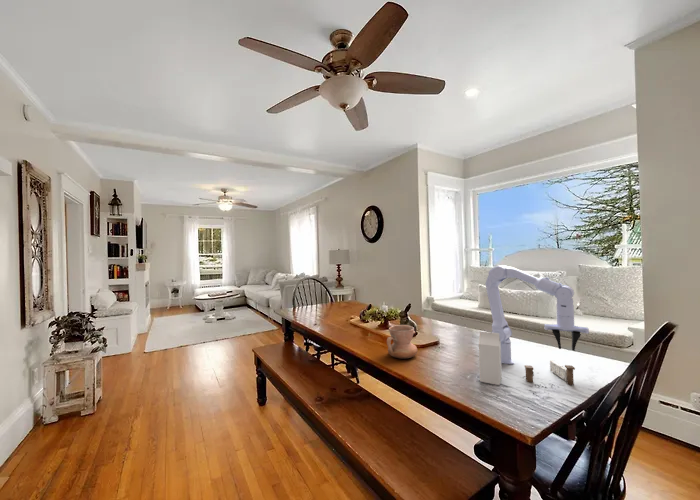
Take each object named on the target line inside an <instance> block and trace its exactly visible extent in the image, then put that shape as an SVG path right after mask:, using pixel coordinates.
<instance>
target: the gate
mask: <svg viewBox="0 0 700 500" xmlns="http://www.w3.org/2000/svg"><path fill="white" fill-rule="evenodd" d="M549 365H550V366H549V367H550V368H549V369H550V372H552V373H553V374H555V375H556V376H558V377H560V378H561V379H562V380H563V381H565V382H567V368H566V367H565V366H564V365H561V364H560V363H558V362H556V361H555V360H549Z"/></svg>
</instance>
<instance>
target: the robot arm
mask: <svg viewBox="0 0 700 500" xmlns="http://www.w3.org/2000/svg"><path fill="white" fill-rule="evenodd" d="M511 278H512V279H513V278H514V279H515V278H516V279H518V280H521V281H523V282H526V283H528V284H531V285H534V286H535V289H536V290H538V291H541V292H543V293H545V294H548V295H550V296H552V297H553V296H554V298H555V299H556V324H548V323H547V324H546V323H544V330H545V331H549V330H550V331H552V333H553V336H554V338H555V340H556V342H557V346H558V349H559V350H562V344H561V331H562V332H569V333H570V332H571V333H570V334H571V350H572V351H575V350H576V346H577V343H578V341H579V339H580V337H581V333H583V334H588V335H589V333H590V330H589V328H588V327H587V326H586V327H584V326H578V325H577V326H576V325H575V306H574V298H573V297H574V295H575V292H574V289H573V288H572V286H569V285H567V284H563V283H562V282H556V281H554V280H551V279H550V277H548V276H544V277H543V276H541V277H539V278H538V277H536V276H534V275H532V274H529V273H527V272H525V271H523V270H521V269H518V268H515V267H513V266H508V265H506V264H502V265H501V264H500V265H496V266H493V267H491V269H490V270H489V271H488V275H487V277H486V280H485V283H484V284H485V288H486V292H487V293H486V294H487V299H488V303H489V308H490V314H491V317H492V323H491V333H499V337H500V342H501V364H508V365H514V364H515V362H514V361H513V359H512V346H511V345H512V344H511V343H512V342H511V339H510V338H511V337H512V335H513V331H512V329H511V328H510V326H509V322H508V321H507V320H506V318H505V313H504V308H503V303H502V299H501V295H500V294H501V293H500V289H499V285H501V283H502V282H503V281H505V280H506V279H511Z"/></svg>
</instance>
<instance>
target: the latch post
mask: <svg viewBox="0 0 700 500" xmlns="http://www.w3.org/2000/svg"><path fill="white" fill-rule="evenodd" d="M524 368H525V381H526V382H527V383H534V376H535V373H534V371H533V370H534V367H533V366H532V365H527V364H526V365H524Z"/></svg>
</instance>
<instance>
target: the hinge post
mask: <svg viewBox="0 0 700 500" xmlns="http://www.w3.org/2000/svg"><path fill="white" fill-rule="evenodd" d="M564 368H566V369H567V381H566V384H567V385H569V386H574V383H575V382H574V381H575V380H574V370H575V369H576V367H574V366H573V365H568V364H565V365H564Z"/></svg>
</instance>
